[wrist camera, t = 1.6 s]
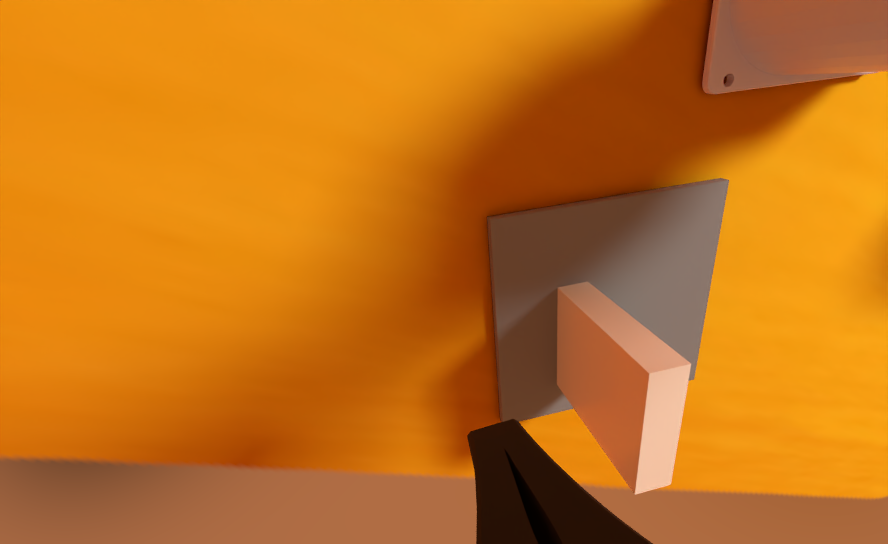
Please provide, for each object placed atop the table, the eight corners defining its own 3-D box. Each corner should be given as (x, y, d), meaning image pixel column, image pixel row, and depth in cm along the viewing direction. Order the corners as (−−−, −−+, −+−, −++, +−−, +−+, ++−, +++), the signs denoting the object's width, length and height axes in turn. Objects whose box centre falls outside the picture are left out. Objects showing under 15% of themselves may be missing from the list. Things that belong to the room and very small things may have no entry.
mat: (720, 178, 21) (729, 180, 20) (687, 374, 26) (694, 379, 25) (486, 216, 19) (490, 219, 18) (500, 419, 24) (503, 425, 23)
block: (590, 280, 21) (695, 362, 14) (586, 377, 23) (674, 483, 17) (557, 287, 21) (649, 373, 14) (556, 384, 23) (635, 494, 17)
